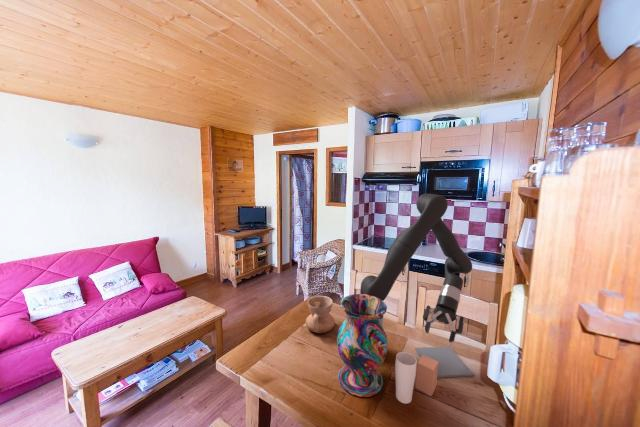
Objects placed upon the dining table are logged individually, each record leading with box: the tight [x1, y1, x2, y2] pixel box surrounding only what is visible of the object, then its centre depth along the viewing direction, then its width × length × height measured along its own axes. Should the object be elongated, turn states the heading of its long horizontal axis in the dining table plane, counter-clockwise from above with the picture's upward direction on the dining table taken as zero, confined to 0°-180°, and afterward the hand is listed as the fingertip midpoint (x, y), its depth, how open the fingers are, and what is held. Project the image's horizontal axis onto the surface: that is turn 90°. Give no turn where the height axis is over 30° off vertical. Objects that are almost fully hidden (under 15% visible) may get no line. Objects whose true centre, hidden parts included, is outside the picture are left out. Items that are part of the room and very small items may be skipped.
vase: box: [336, 293, 389, 398], centre depth 93 cm, size 18×18×30 cm
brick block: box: [415, 355, 438, 397], centre depth 91 cm, size 6×6×10 cm
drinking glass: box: [394, 351, 418, 405], centre depth 86 cm, size 7×7×15 cm
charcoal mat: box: [414, 346, 475, 379], centre depth 104 cm, size 16×16×1 cm
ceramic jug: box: [305, 295, 335, 334], centre depth 126 cm, size 18×14×14 cm
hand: (438, 337), depth 98 cm, fingers open, 8 cm apart
